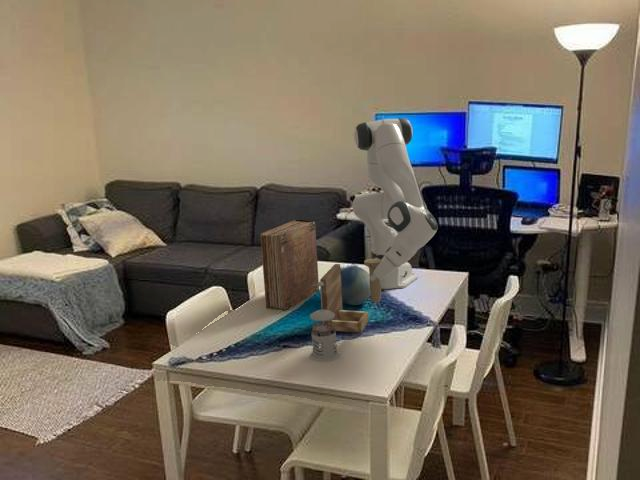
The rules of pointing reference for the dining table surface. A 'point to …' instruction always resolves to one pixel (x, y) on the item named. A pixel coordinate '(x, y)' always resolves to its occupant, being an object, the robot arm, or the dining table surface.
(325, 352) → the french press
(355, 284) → the decorative ball
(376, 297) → the handle
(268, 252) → the book
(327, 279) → the cleat board
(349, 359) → the dining table surface
